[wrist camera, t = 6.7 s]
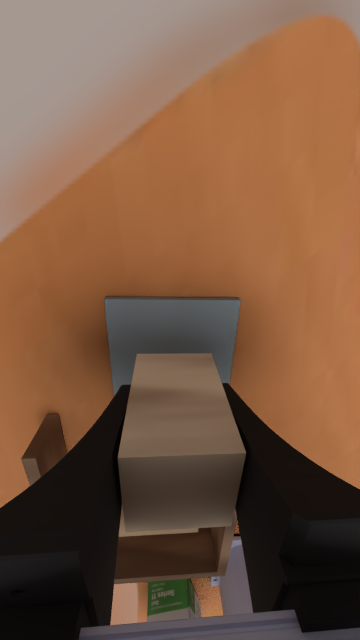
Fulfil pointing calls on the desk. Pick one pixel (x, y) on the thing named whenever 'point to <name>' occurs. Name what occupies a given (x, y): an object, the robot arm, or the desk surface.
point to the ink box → (172, 600)
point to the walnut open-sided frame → (146, 546)
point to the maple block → (178, 446)
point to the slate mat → (169, 331)
